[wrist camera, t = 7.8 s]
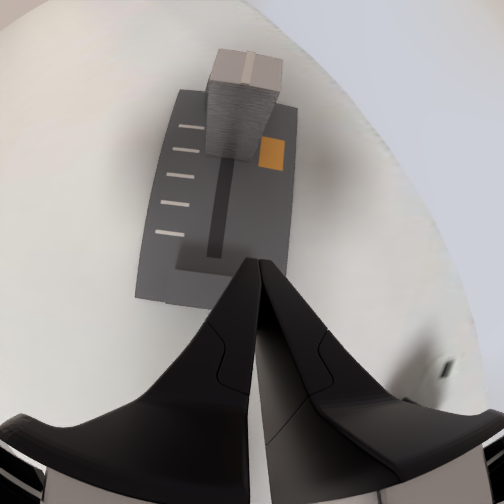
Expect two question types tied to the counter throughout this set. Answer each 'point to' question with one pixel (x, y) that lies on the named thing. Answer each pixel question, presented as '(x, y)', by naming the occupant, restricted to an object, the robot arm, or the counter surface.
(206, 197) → the fader panel
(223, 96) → the fader tab
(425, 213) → the counter surface
